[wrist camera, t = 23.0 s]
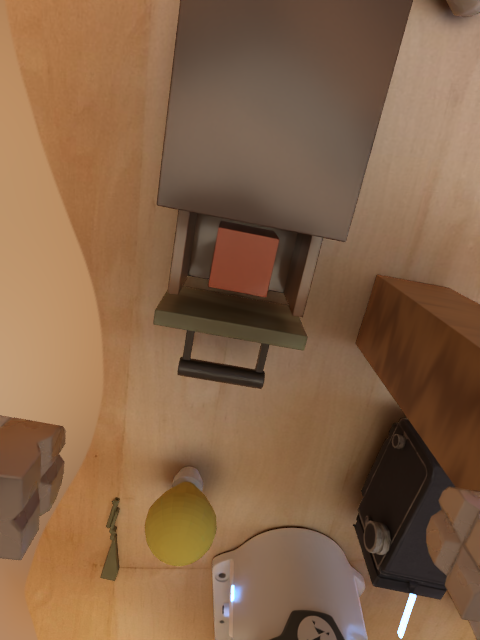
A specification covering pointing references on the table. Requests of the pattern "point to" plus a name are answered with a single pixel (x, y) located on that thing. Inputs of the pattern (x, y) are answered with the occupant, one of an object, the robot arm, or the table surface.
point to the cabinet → (277, 109)
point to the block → (243, 259)
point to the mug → (464, 7)
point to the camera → (402, 514)
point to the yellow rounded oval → (181, 521)
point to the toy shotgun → (112, 546)
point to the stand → (430, 367)
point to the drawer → (235, 299)
